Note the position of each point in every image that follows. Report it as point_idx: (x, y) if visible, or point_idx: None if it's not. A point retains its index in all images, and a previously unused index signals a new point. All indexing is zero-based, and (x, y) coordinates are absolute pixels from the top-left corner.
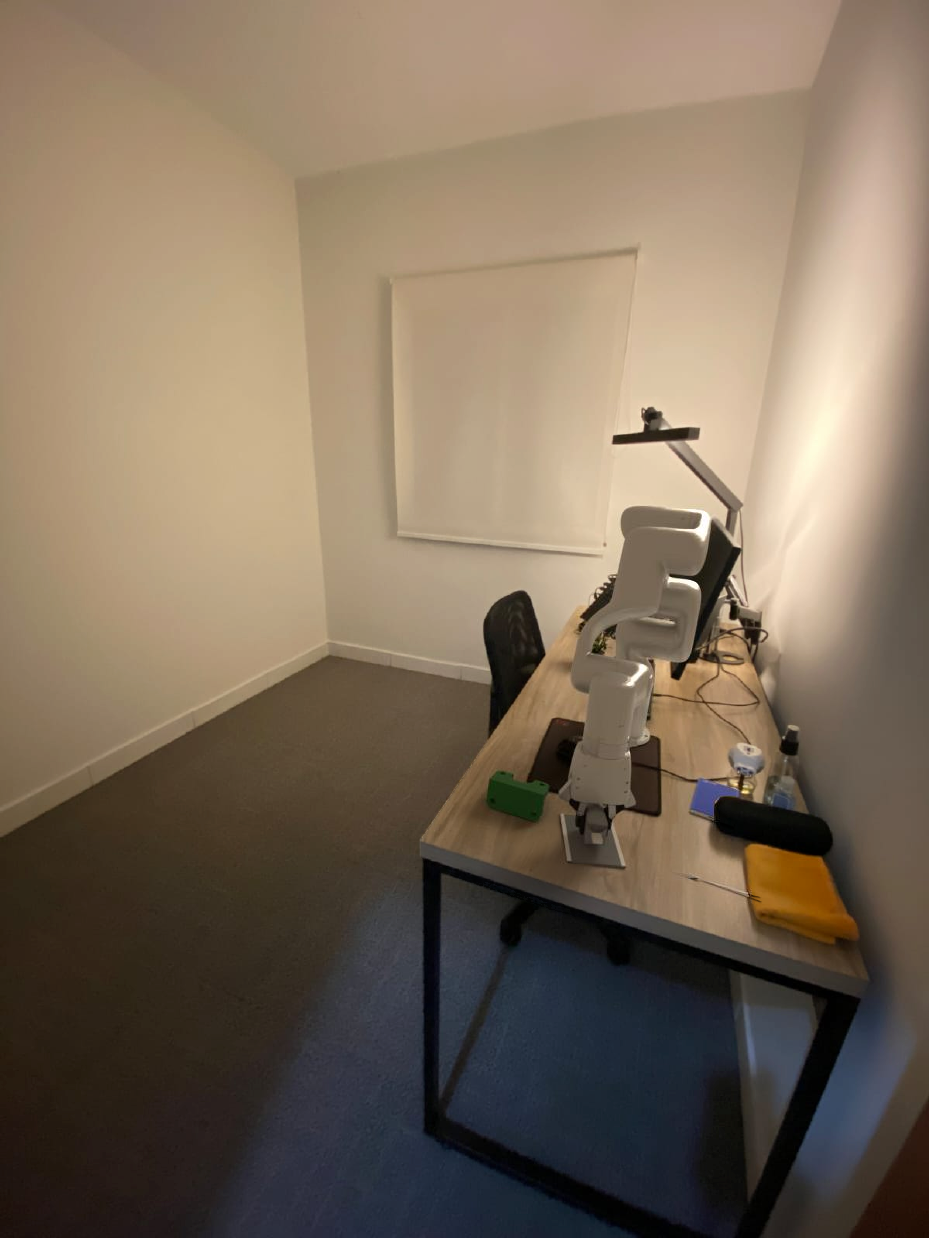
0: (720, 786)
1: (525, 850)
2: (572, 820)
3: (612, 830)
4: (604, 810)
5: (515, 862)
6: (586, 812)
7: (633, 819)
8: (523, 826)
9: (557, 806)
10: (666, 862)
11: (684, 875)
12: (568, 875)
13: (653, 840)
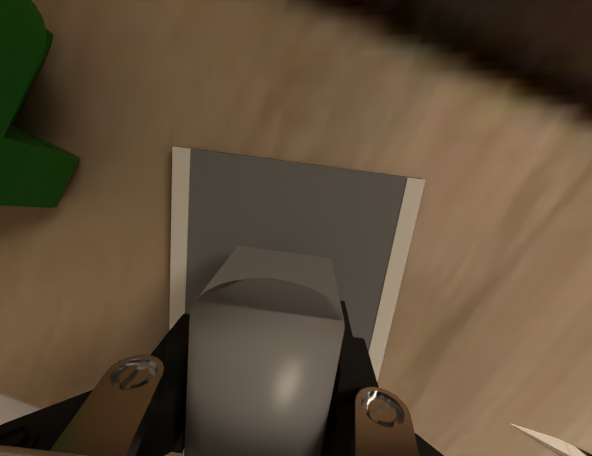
0: None
1: (33, 335)
2: (225, 194)
3: (392, 259)
4: (336, 399)
5: (5, 379)
6: (184, 450)
7: (536, 174)
8: (15, 218)
9: (173, 76)
10: (529, 400)
11: (556, 450)
12: None
13: (549, 302)
